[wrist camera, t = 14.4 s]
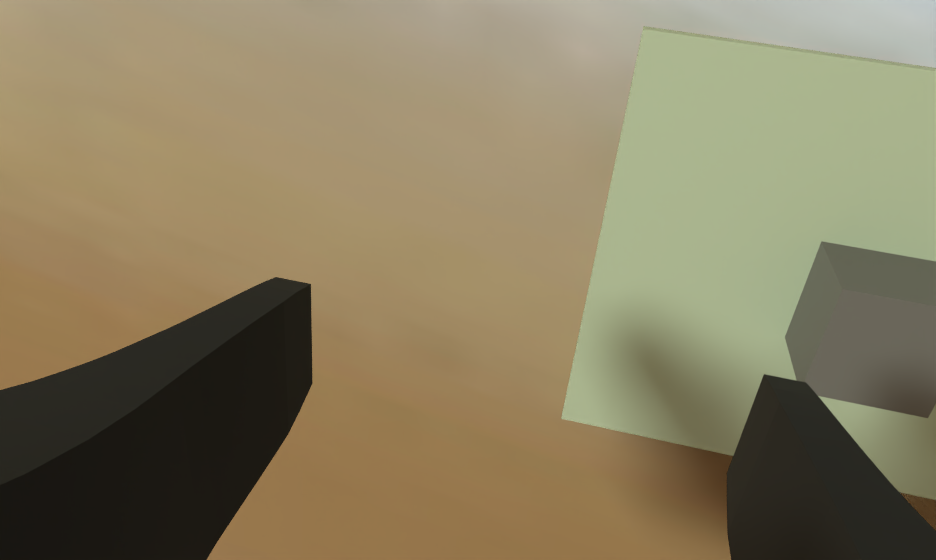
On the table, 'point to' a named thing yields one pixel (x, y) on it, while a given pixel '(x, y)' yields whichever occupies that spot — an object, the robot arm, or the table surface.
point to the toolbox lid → (767, 250)
